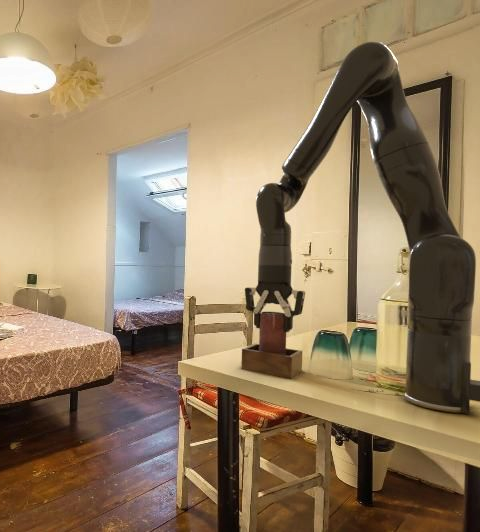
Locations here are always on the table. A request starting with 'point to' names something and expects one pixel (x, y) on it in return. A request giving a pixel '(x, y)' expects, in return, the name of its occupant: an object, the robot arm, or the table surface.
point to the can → (272, 333)
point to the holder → (272, 362)
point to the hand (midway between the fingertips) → (272, 329)
